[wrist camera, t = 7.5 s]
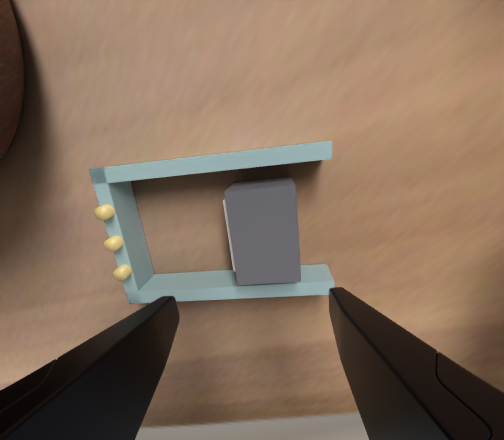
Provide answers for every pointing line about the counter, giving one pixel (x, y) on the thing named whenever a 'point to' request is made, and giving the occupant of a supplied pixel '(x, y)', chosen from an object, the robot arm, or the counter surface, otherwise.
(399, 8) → the counter surface
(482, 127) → the counter surface
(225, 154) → the u-shaped coat rack
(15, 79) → the wooden bowl
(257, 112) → the counter surface
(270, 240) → the plug block
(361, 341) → the robot arm
